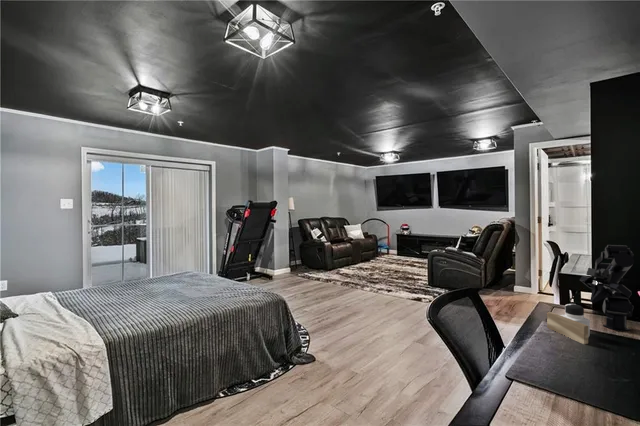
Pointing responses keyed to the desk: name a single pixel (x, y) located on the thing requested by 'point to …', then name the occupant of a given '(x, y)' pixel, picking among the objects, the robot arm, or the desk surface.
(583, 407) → the desk surface
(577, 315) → the medicine bottle
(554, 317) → the oak wall
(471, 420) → the desk surface
